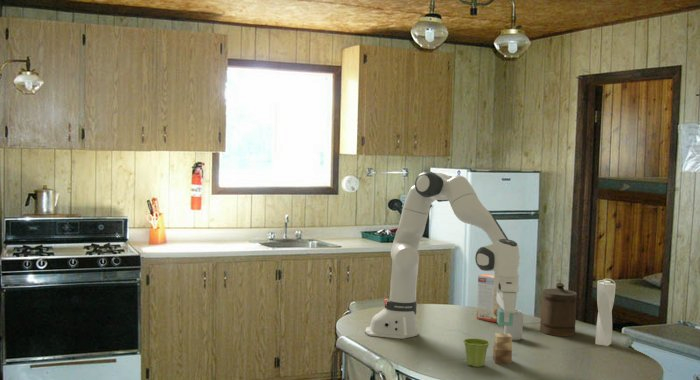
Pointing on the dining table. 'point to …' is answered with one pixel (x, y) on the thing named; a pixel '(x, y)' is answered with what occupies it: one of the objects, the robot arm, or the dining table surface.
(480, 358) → the plant pot
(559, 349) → the dining table surface
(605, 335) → the skyscraper
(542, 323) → the wooden container
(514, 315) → the can
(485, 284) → the cracker box
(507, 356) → the walnut base block
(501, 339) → the oak middle block
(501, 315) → the teal block
